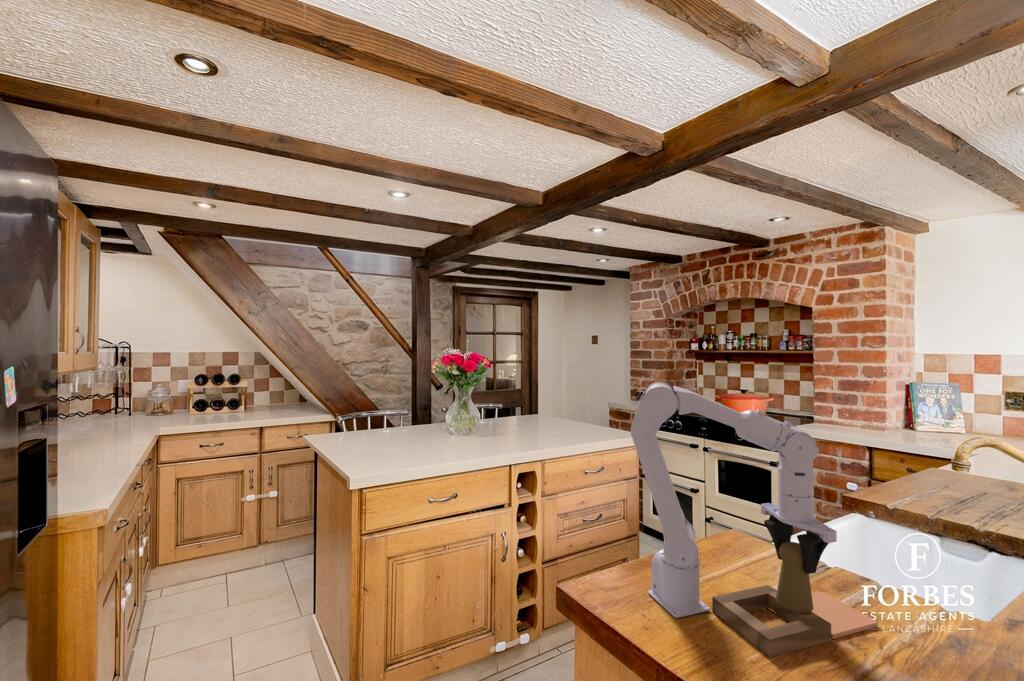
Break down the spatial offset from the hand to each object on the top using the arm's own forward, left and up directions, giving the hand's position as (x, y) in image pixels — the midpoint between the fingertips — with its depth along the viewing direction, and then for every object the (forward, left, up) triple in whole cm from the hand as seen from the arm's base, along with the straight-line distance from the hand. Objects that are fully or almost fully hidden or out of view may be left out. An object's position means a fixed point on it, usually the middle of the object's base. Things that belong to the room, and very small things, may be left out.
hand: (796, 565), depth 89 cm
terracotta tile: (0, +7, -11) cm, 13 cm away
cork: (0, -1, -7) cm, 7 cm away
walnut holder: (-1, -6, -11) cm, 12 cm away
